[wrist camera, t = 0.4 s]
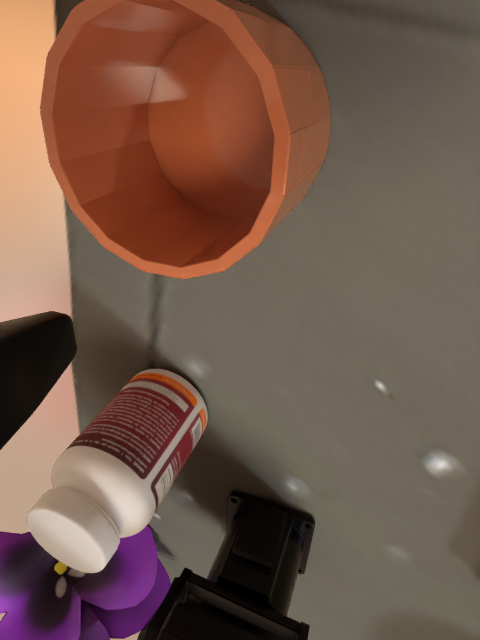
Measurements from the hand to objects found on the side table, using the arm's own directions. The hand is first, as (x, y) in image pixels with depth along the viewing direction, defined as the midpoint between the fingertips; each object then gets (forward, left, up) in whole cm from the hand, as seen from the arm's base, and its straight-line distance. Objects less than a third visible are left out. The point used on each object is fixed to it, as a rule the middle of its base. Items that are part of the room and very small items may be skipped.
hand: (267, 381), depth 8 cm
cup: (+3, +6, -14) cm, 15 cm away
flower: (-39, +25, -12) cm, 47 cm away
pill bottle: (-15, +10, -14) cm, 23 cm away
